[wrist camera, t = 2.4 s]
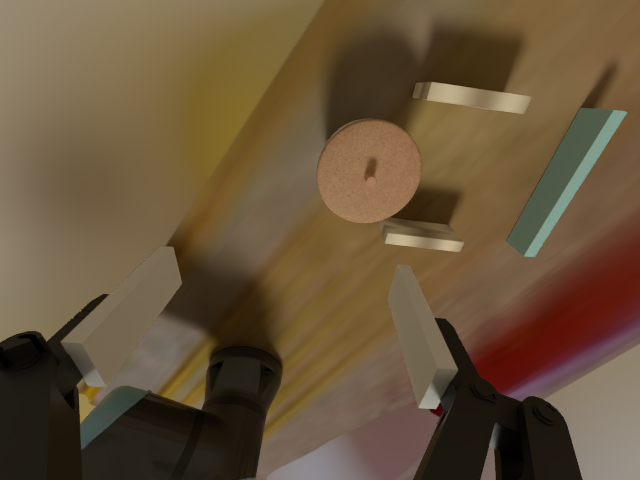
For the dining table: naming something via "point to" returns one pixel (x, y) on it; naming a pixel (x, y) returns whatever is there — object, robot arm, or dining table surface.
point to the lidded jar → (368, 170)
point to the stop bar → (563, 177)
